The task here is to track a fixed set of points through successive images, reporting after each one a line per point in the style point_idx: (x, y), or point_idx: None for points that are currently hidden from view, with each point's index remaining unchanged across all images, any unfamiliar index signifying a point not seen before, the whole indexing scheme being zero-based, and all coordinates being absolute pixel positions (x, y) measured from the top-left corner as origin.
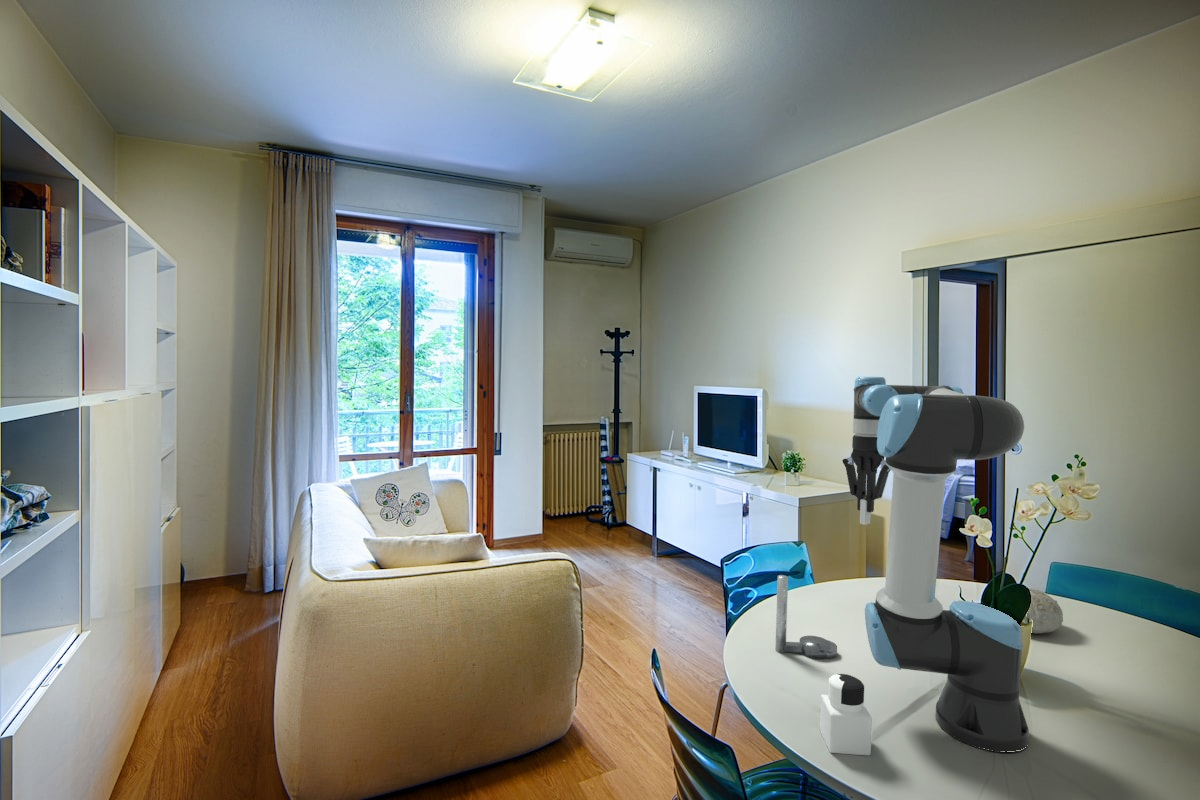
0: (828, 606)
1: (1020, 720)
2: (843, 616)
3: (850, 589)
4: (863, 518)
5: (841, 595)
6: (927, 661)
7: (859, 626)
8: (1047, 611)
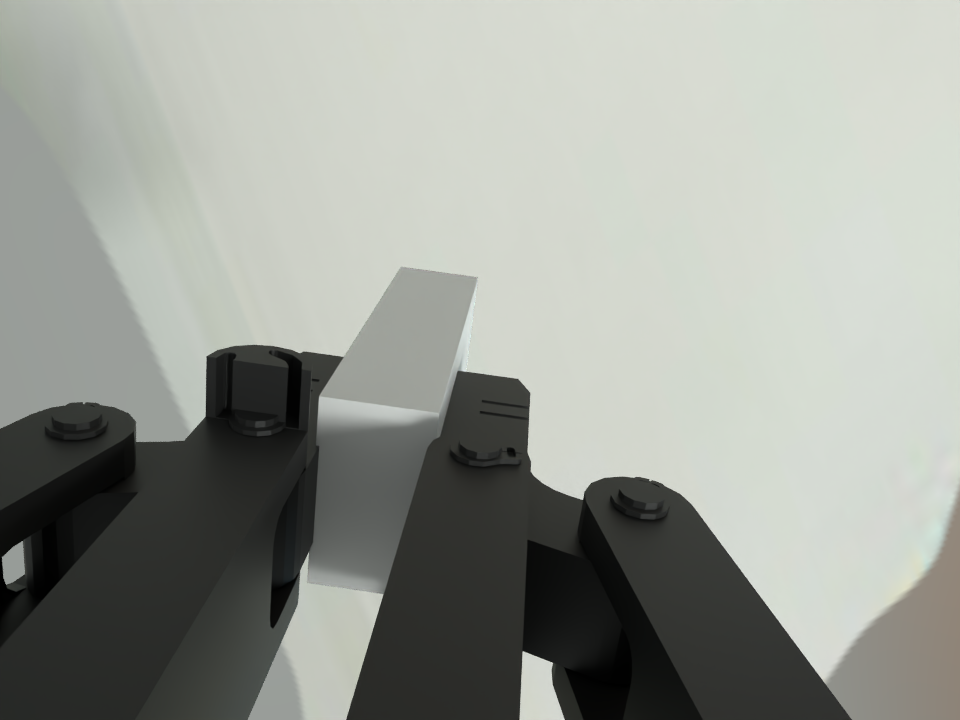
0: (746, 321)
1: None
2: (631, 244)
3: None
4: (412, 290)
5: (745, 517)
6: None
7: (518, 174)
8: None
